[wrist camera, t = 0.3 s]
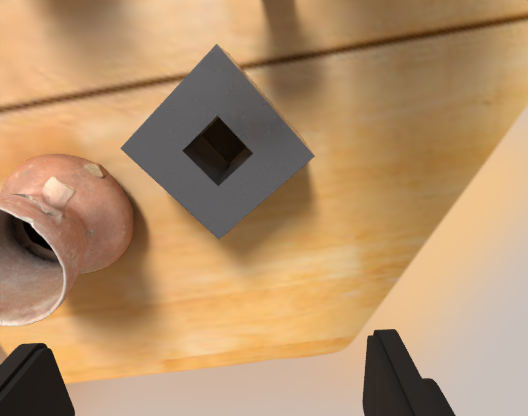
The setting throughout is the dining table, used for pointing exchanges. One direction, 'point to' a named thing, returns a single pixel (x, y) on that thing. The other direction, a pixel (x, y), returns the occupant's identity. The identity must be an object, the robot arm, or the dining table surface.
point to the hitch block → (205, 156)
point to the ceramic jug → (56, 232)
